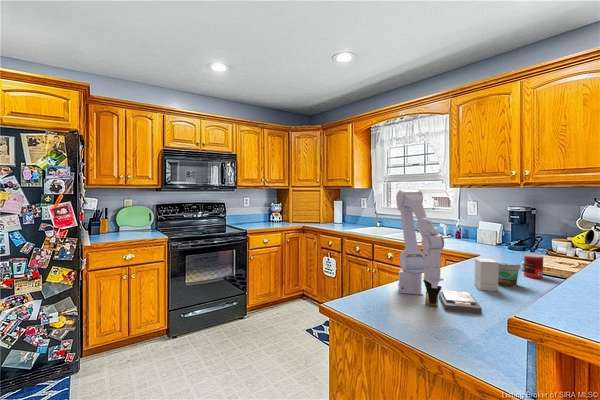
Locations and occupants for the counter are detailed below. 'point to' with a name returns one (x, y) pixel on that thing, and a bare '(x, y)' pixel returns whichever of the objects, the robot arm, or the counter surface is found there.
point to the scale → (460, 305)
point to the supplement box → (486, 274)
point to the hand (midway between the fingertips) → (431, 301)
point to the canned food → (533, 266)
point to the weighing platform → (458, 296)
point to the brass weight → (429, 302)
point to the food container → (508, 274)
